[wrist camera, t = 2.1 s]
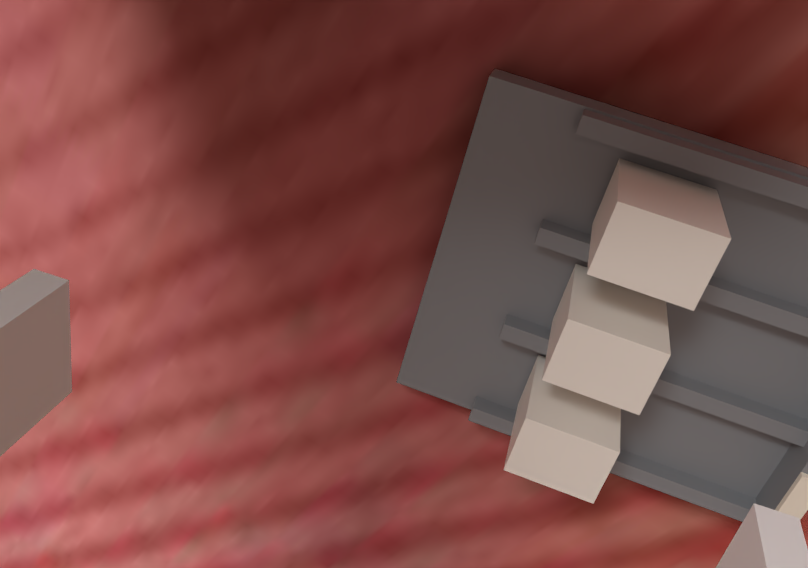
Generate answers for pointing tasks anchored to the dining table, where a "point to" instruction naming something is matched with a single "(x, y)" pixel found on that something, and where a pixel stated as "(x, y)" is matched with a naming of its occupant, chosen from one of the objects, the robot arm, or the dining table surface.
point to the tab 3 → (563, 438)
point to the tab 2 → (607, 342)
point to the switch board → (688, 330)
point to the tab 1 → (658, 234)
